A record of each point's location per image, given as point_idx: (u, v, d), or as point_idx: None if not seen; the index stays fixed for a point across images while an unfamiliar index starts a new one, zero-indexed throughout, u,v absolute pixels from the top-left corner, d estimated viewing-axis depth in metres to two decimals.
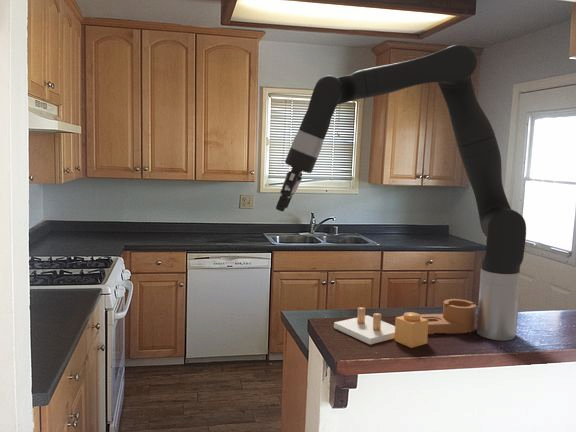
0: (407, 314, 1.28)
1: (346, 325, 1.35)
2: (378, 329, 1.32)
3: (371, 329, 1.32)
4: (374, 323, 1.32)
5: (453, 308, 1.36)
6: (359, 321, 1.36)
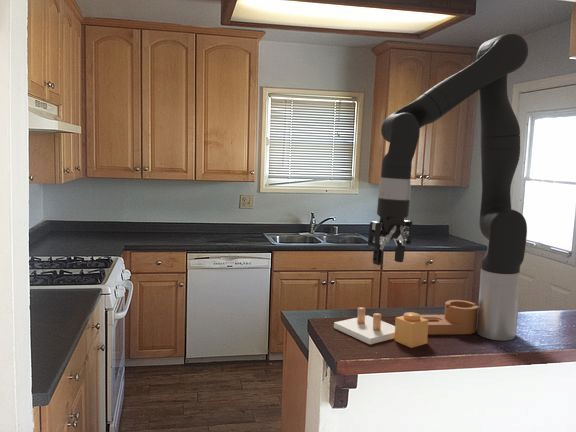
0: (407, 314, 1.28)
1: (346, 325, 1.35)
2: (378, 329, 1.32)
3: (371, 329, 1.32)
4: (374, 323, 1.32)
5: (453, 308, 1.35)
6: (359, 321, 1.36)
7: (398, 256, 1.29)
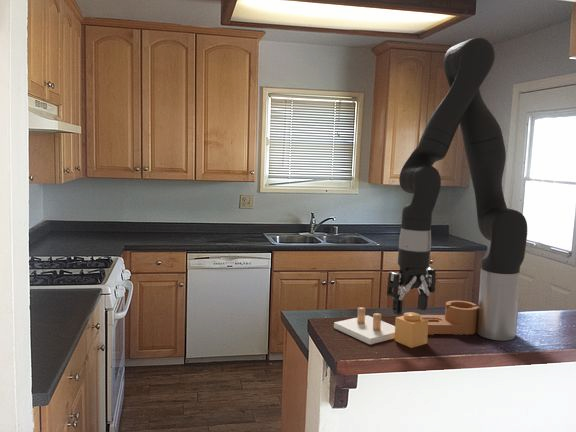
0: (407, 314, 1.28)
1: (346, 325, 1.35)
2: (378, 329, 1.32)
3: (371, 329, 1.32)
4: (374, 323, 1.32)
5: (453, 309, 1.35)
6: (359, 321, 1.36)
7: (421, 304, 1.30)
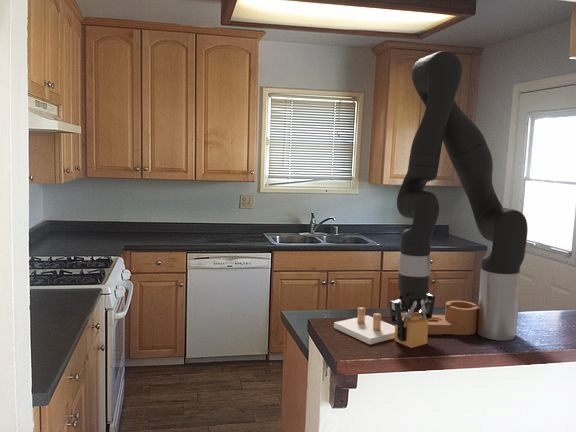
0: None
1: (346, 325, 1.35)
2: (378, 329, 1.32)
3: (371, 329, 1.32)
4: (374, 323, 1.32)
5: (453, 309, 1.35)
6: (359, 321, 1.36)
7: None
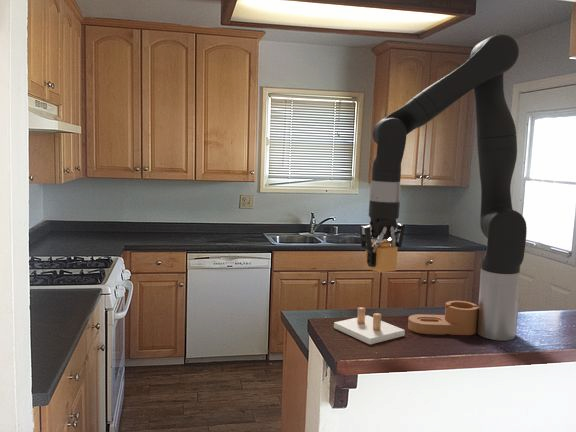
0: None
1: (346, 325, 1.35)
2: (378, 329, 1.32)
3: (371, 329, 1.32)
4: (374, 323, 1.32)
5: (452, 309, 1.35)
6: (359, 321, 1.36)
7: None
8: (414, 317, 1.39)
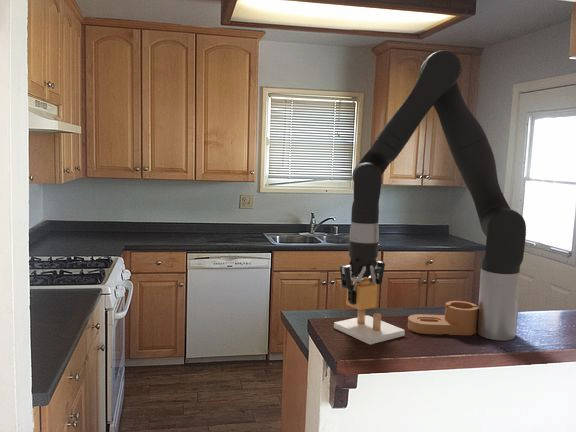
0: None
1: (346, 325, 1.35)
2: (378, 329, 1.32)
3: (371, 329, 1.32)
4: (374, 323, 1.32)
5: (452, 309, 1.35)
6: (359, 321, 1.36)
7: None
8: (414, 317, 1.39)
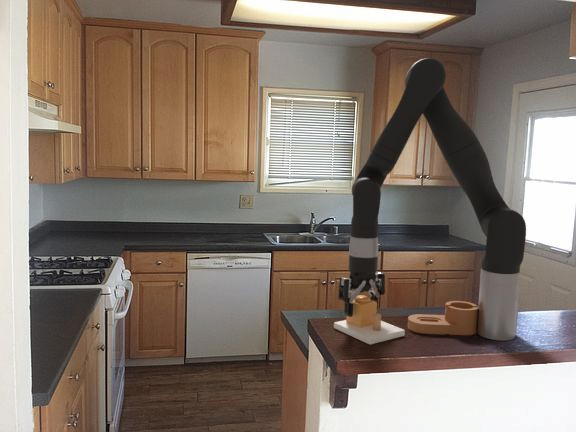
0: (357, 297, 1.37)
1: (346, 325, 1.35)
2: (378, 329, 1.32)
3: (371, 329, 1.32)
4: (374, 323, 1.32)
5: (452, 309, 1.35)
6: None
7: None
8: (414, 317, 1.39)
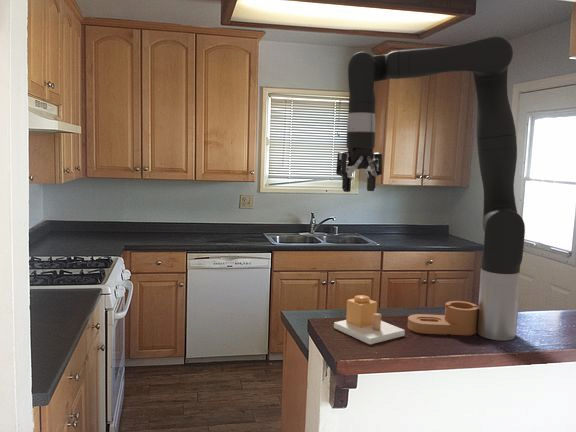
0: (357, 297, 1.37)
1: (346, 325, 1.35)
2: (378, 329, 1.32)
3: (371, 329, 1.32)
4: (374, 323, 1.32)
5: (452, 309, 1.35)
6: None
7: (369, 186, 1.42)
8: (413, 317, 1.40)
